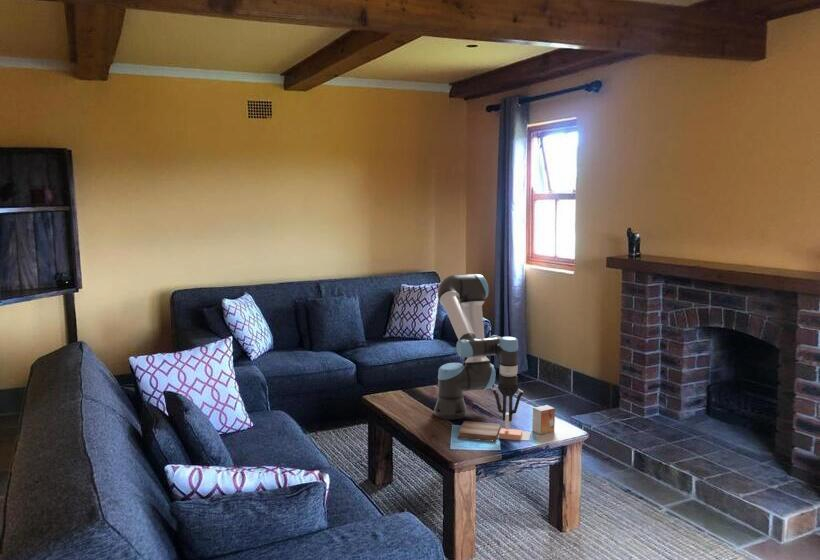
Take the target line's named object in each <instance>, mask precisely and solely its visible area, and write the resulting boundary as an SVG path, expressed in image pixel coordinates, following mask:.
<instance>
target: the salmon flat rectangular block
mask: <svg viewBox="0 0 820 560" xmlns="http://www.w3.org/2000/svg"><path fill="white" fill-rule="evenodd" d="M522 431H523V430H522V429H513V428H509V430H508V429H505V427H504V428H502V427H501V430H500V432H499V438H498V439H501V438H507V439H506V440H512V439H517V440H516V441H522V440H521V437H522Z"/></svg>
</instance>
